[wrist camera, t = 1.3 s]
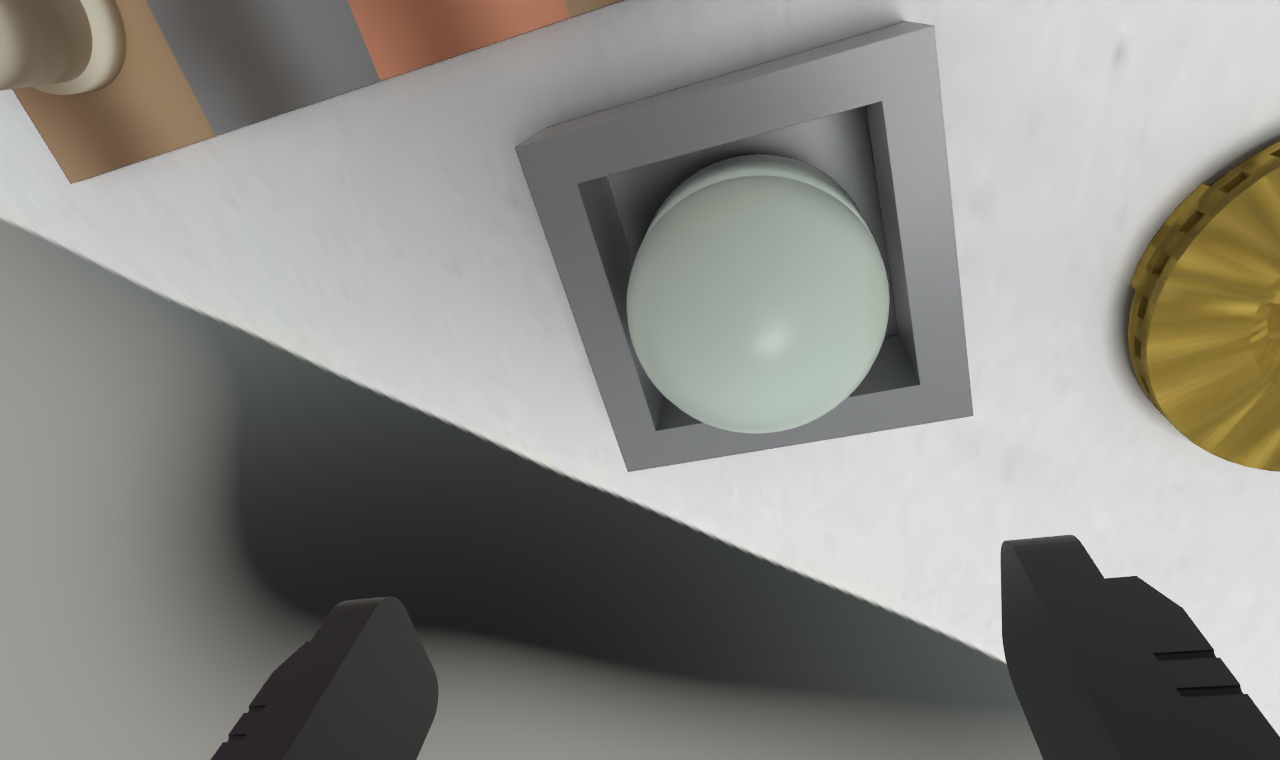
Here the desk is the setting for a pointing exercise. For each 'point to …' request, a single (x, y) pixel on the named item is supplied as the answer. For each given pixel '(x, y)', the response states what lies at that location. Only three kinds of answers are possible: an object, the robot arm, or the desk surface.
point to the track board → (259, 66)
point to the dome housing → (736, 109)
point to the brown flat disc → (1216, 315)
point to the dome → (757, 295)
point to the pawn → (60, 45)
